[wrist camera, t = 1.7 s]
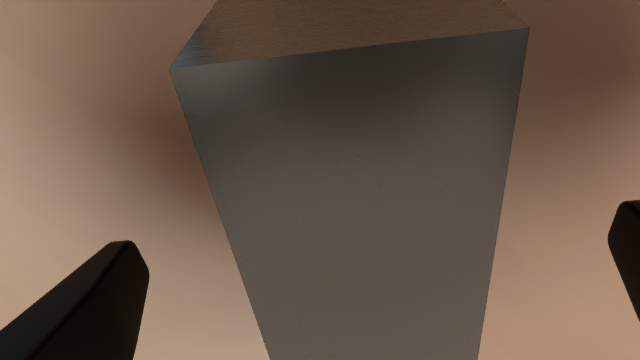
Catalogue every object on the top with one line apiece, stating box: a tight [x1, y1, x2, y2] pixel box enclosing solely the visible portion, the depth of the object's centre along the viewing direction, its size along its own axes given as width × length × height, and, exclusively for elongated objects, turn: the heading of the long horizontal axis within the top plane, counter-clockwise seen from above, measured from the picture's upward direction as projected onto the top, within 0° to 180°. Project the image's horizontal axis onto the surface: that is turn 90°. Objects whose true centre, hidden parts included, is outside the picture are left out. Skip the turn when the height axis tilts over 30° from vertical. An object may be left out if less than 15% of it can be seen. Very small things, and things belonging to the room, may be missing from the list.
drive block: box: [169, 0, 530, 360], centre depth 11 cm, size 4×8×7 cm, turn 7°
